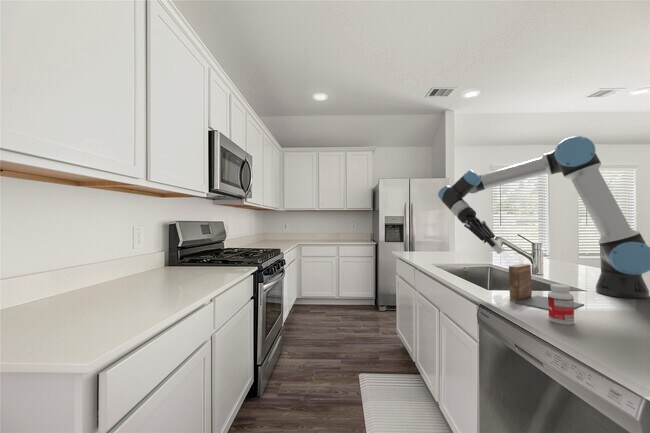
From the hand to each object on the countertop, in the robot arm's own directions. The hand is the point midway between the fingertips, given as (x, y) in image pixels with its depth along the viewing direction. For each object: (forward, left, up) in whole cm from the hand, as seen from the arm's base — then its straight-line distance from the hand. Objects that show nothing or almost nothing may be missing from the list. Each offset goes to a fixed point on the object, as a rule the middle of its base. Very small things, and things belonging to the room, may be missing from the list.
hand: (501, 251), depth 123 cm
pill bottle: (-22, +23, -18) cm, 37 cm away
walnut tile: (-7, +1, -18) cm, 19 cm away
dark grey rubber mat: (-16, +4, -18) cm, 24 cm away
